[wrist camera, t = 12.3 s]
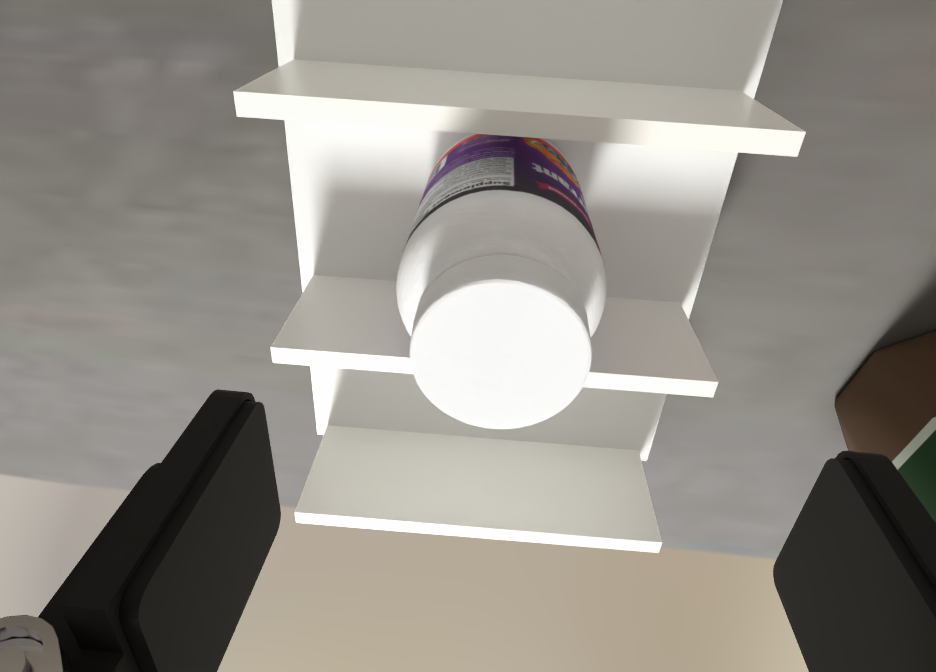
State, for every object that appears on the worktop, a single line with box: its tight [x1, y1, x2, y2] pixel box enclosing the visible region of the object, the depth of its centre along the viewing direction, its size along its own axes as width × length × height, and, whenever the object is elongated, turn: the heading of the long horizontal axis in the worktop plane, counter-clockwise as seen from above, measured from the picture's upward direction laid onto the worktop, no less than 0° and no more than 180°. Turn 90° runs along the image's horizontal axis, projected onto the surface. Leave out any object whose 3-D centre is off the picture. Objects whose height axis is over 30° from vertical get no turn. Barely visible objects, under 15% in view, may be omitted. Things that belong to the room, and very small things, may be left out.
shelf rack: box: [233, 0, 806, 553], centre depth 20 cm, size 15×23×6 cm, turn 177°
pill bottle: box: [396, 133, 606, 429], centre depth 17 cm, size 5×5×10 cm
